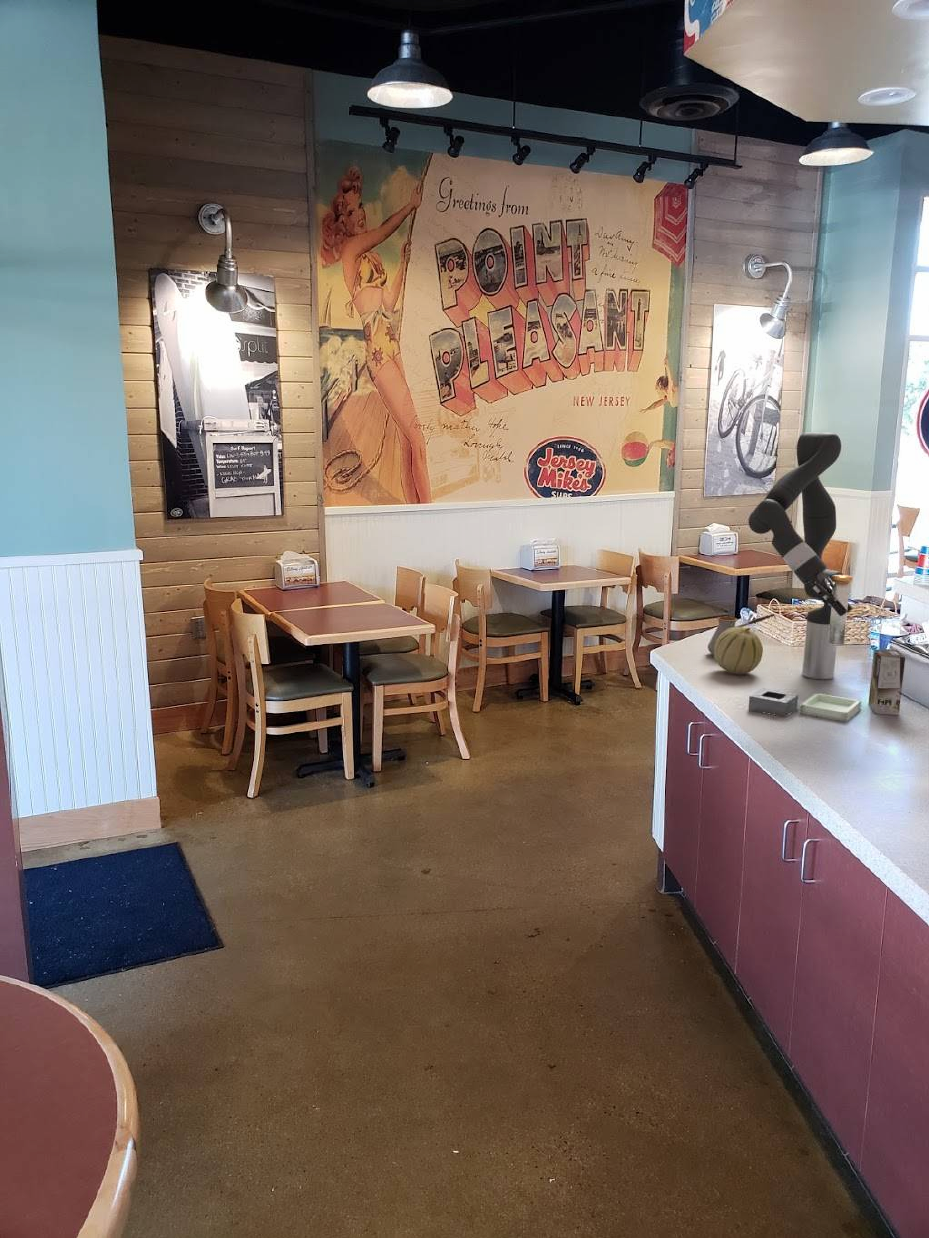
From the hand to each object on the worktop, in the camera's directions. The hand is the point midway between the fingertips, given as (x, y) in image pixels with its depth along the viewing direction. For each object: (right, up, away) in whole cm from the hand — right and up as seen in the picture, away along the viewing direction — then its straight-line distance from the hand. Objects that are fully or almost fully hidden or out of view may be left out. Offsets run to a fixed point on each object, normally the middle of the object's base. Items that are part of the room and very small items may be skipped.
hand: (846, 612), depth 251 cm
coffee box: (+14, -27, +9) cm, 31 cm away
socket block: (-17, -26, +8) cm, 32 cm away
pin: (-2, -8, +3) cm, 9 cm away
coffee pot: (-9, -15, +65) cm, 68 cm away
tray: (-2, -27, +7) cm, 28 cm away
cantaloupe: (-16, -19, +45) cm, 51 cm away
